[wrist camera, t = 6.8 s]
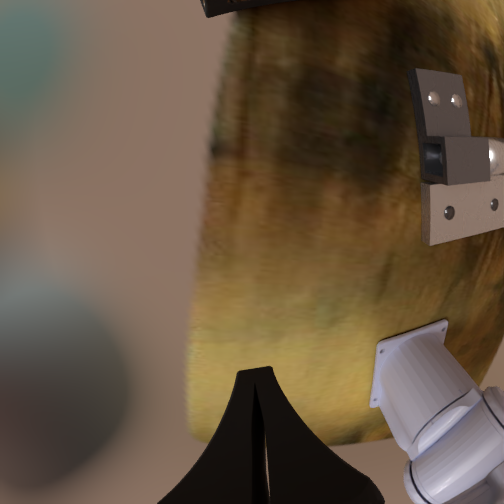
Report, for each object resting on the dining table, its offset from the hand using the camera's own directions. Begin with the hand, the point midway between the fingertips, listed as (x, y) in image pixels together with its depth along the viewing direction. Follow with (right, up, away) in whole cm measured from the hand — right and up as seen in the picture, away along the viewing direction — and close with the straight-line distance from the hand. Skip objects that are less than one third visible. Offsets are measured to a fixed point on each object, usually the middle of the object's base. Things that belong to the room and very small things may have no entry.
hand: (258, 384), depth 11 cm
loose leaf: (+14, +15, +6) cm, 21 cm away
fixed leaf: (+17, +11, +8) cm, 22 cm away
